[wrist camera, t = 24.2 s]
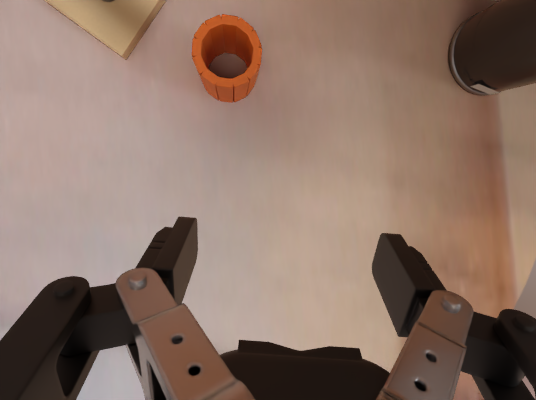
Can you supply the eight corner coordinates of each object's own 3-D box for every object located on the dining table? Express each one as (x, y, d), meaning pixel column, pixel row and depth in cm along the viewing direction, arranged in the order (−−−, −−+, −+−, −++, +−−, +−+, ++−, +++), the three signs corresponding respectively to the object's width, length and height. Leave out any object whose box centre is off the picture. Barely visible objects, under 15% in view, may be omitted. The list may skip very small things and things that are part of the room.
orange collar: (221, 34, 36) (218, -1, 28) (266, 68, 37) (275, 44, 29) (190, 79, 36) (178, 58, 28) (235, 113, 37) (235, 101, 29)
